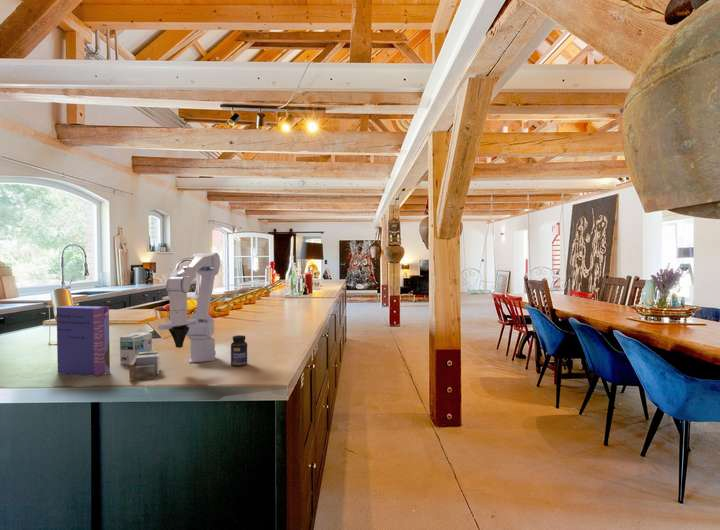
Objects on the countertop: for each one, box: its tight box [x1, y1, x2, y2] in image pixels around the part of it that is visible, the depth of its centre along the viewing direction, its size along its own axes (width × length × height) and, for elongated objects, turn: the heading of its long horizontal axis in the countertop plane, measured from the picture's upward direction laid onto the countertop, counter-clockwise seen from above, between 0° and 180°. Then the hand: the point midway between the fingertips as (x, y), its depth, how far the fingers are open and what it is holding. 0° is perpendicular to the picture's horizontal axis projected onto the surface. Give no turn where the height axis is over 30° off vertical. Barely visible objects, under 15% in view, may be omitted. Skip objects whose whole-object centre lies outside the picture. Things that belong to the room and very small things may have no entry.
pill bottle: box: [230, 335, 248, 367], centre depth 156 cm, size 6×6×11 cm
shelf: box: [128, 350, 159, 382], centre depth 145 cm, size 7×15×6 cm, turn 21°
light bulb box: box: [119, 331, 153, 365], centre depth 163 cm, size 11×7×11 cm, turn 172°
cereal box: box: [56, 305, 111, 377], centre depth 146 cm, size 17×5×24 cm, turn 78°
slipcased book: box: [136, 353, 161, 375], centre depth 145 cm, size 7×4×6 cm, turn 110°
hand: (179, 347), depth 148 cm, fingers closed
